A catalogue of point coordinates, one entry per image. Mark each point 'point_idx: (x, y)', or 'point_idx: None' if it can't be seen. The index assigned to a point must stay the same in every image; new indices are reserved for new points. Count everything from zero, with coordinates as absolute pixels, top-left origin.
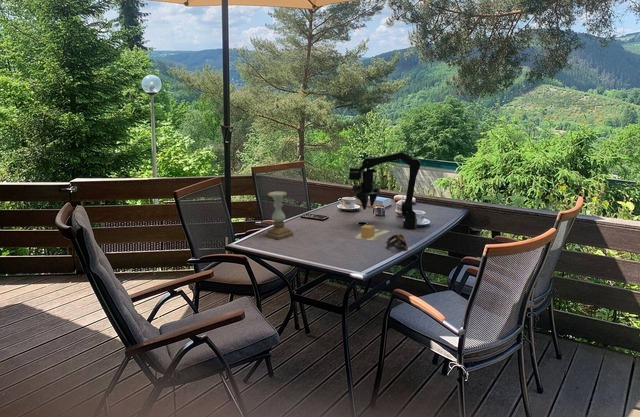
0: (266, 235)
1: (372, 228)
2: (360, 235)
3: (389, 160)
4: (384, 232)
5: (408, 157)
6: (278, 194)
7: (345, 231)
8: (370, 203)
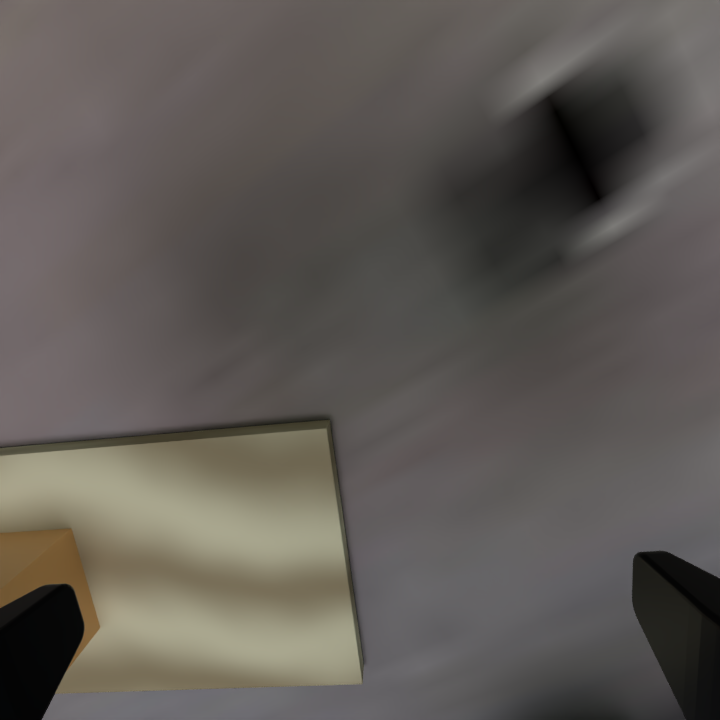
0: None
1: None
2: (5, 500)
3: None
4: (267, 656)
5: None
6: None
7: (83, 194)
8: (703, 623)
